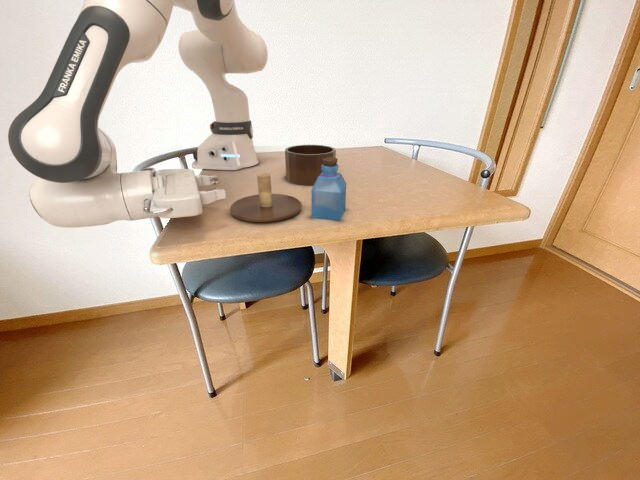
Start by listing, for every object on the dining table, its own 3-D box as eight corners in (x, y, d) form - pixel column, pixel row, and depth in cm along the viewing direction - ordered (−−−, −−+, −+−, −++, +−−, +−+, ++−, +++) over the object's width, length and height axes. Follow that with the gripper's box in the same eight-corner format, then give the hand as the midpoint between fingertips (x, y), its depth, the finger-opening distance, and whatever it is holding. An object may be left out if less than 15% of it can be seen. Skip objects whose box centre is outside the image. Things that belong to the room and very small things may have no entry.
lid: (215, 215, 65) (208, 178, 61) (261, 194, 77) (258, 162, 73) (273, 231, 58) (270, 190, 54) (314, 205, 70) (313, 171, 66)
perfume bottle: (345, 209, 68) (347, 156, 62) (340, 220, 62) (342, 163, 57) (318, 207, 69) (319, 155, 63) (311, 217, 64) (311, 161, 58)
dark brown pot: (285, 185, 83) (284, 155, 79) (287, 171, 96) (286, 144, 92) (337, 185, 84) (338, 154, 80) (332, 171, 97) (332, 144, 93)
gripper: (136, 195, 46) (227, 185, 51) (145, 166, 63) (213, 160, 68) (147, 232, 49) (232, 218, 54) (153, 194, 66) (218, 187, 71)
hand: (221, 186), depth 61 cm, fingers open, 8 cm apart
